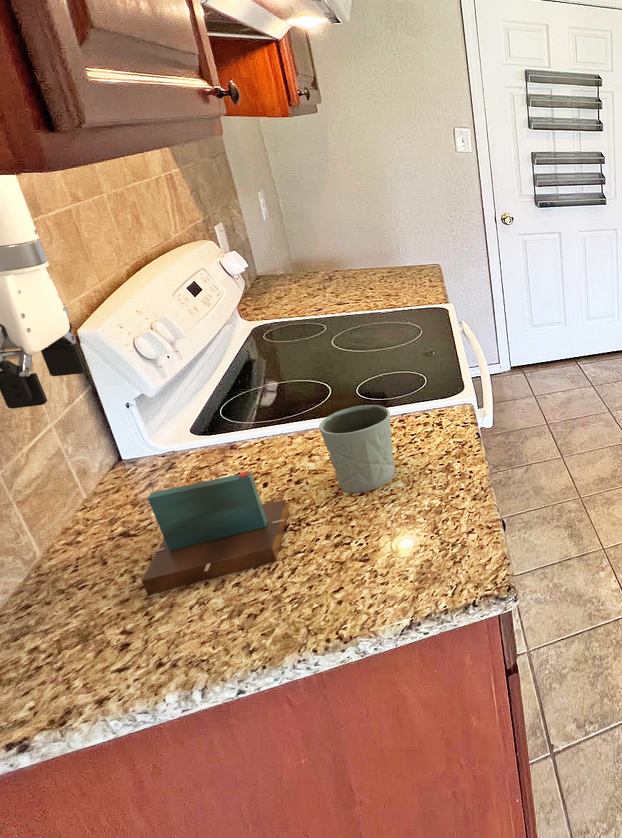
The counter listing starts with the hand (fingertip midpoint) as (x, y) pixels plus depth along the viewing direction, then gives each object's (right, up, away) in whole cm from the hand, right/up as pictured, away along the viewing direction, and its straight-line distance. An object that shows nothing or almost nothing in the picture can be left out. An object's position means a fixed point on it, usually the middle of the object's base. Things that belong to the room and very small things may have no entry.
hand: (49, 389), depth 73 cm
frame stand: (+13, -25, +11) cm, 30 cm away
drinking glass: (+23, -19, +28) cm, 41 cm away
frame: (+13, -22, +10) cm, 28 cm away
